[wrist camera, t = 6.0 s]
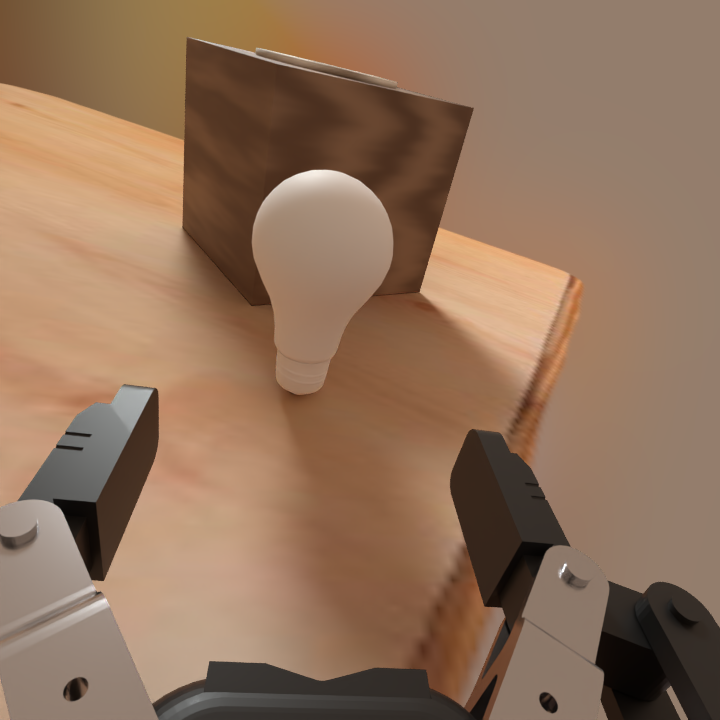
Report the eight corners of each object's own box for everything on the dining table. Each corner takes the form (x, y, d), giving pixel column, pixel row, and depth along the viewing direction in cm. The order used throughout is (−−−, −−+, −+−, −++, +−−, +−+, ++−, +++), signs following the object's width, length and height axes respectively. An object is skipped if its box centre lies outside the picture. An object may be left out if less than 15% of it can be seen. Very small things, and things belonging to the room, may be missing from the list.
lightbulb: (362, 375, 28) (413, 178, 22) (344, 443, 23) (404, 206, 17) (260, 348, 28) (284, 146, 22) (217, 409, 23) (236, 164, 17)
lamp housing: (251, 305, 32) (277, 55, 25) (181, 225, 42) (185, 29, 35) (419, 291, 41) (475, 101, 33) (327, 227, 51) (355, 70, 43)
